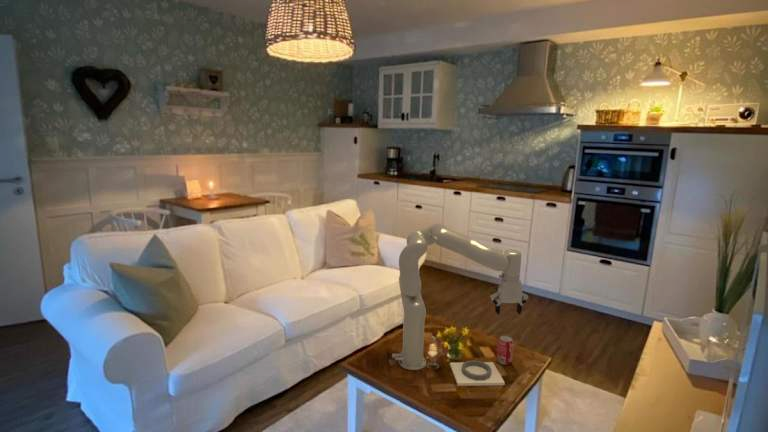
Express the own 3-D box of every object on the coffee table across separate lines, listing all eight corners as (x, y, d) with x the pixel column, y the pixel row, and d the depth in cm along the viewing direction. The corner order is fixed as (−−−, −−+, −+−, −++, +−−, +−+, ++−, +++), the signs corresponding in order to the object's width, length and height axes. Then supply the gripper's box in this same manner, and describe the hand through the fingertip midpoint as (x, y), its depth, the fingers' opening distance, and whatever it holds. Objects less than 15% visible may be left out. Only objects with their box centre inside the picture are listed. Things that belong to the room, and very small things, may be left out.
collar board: (457, 385, 170) (458, 378, 170) (449, 364, 186) (450, 358, 185) (504, 385, 171) (505, 378, 171) (492, 364, 187) (493, 358, 186)
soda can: (510, 358, 192) (512, 335, 190) (513, 366, 186) (515, 342, 183) (495, 357, 193) (496, 334, 191) (497, 365, 186) (499, 341, 184)
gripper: (494, 280, 178) (491, 316, 181) (533, 280, 178) (530, 316, 182) (489, 274, 185) (486, 309, 188) (526, 274, 186) (523, 309, 189)
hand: (508, 313), depth 185 cm, fingers open, 9 cm apart
